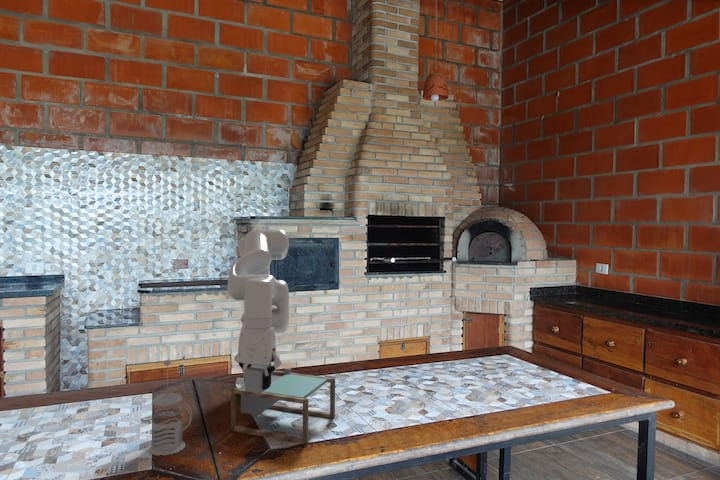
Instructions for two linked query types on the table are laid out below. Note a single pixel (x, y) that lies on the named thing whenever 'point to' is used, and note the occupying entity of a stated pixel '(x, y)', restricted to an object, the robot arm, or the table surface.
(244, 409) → the hatch door
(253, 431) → the stand
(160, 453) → the french press
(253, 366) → the smooth gray block
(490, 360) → the table surface
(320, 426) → the table surface
